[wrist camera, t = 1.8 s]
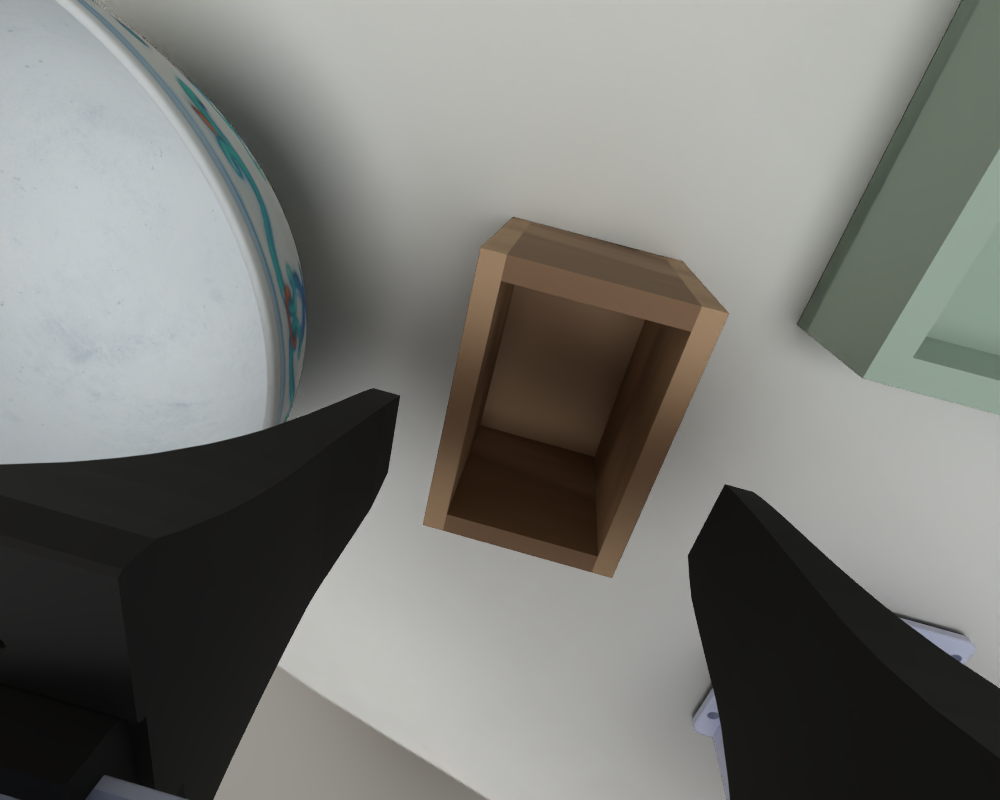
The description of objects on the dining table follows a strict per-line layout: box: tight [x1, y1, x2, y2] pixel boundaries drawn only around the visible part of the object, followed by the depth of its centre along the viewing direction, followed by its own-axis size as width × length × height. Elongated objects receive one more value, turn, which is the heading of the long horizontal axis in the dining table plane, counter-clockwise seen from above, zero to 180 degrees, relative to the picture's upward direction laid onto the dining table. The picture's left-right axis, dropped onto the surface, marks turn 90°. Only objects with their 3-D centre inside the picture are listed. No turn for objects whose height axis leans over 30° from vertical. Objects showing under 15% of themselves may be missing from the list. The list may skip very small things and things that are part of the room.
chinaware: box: [0, 0, 307, 464], centre depth 16 cm, size 15×15×8 cm
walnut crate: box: [423, 217, 729, 578], centre depth 16 cm, size 8×6×6 cm
